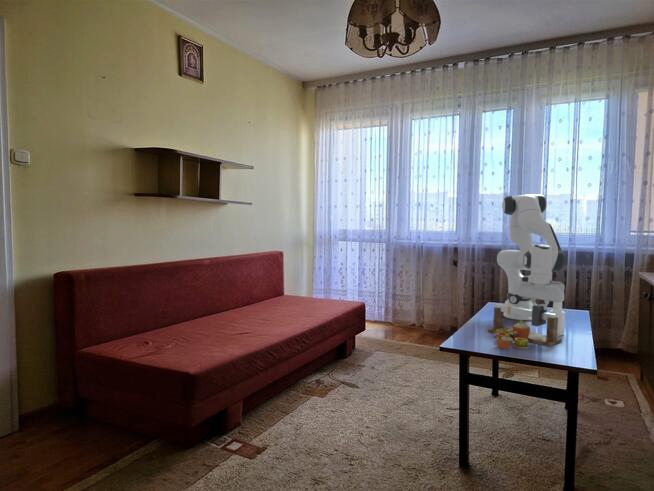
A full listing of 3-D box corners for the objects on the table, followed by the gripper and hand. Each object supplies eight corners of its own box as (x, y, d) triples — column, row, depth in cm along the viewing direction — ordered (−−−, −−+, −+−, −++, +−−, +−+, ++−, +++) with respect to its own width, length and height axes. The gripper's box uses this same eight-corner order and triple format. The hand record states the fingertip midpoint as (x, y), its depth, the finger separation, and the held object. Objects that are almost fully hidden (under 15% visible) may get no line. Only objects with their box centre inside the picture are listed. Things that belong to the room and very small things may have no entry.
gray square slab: (531, 325, 194) (532, 306, 194) (540, 322, 200) (541, 303, 199) (537, 326, 193) (537, 307, 192) (546, 323, 198) (546, 304, 198)
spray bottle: (551, 331, 213) (552, 296, 212) (565, 333, 209) (567, 298, 207) (546, 333, 209) (548, 297, 207) (561, 336, 204) (563, 299, 203)
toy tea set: (493, 334, 207) (494, 315, 206) (528, 338, 201) (529, 318, 200) (492, 349, 183) (493, 327, 182) (532, 354, 177) (533, 332, 176)
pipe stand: (488, 331, 210) (489, 304, 209) (500, 328, 218) (501, 301, 217) (549, 346, 187) (551, 316, 186) (561, 342, 194) (563, 312, 193)
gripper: (567, 281, 189) (566, 312, 190) (523, 276, 205) (521, 304, 206) (561, 282, 185) (560, 313, 186) (516, 277, 201) (515, 305, 202)
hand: (539, 308), depth 196 cm, fingers closed on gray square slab, 2 cm apart
